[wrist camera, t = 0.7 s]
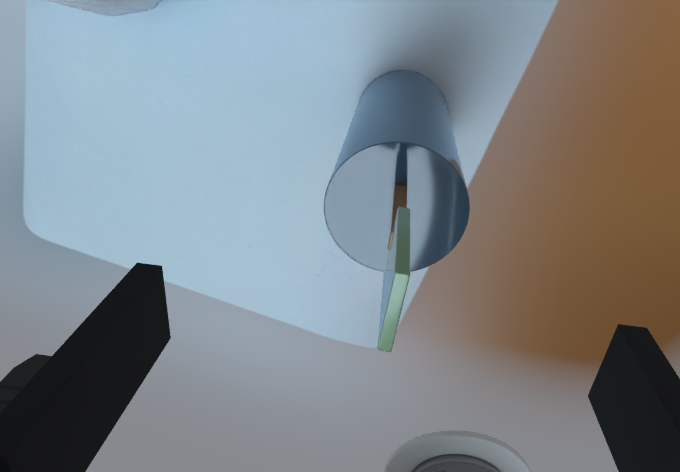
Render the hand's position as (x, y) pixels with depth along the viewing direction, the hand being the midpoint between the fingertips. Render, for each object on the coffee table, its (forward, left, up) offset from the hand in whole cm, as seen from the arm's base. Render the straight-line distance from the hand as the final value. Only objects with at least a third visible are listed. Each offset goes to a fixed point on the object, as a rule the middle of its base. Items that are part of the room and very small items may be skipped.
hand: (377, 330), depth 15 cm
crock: (-4, -1, -39) cm, 39 cm away
